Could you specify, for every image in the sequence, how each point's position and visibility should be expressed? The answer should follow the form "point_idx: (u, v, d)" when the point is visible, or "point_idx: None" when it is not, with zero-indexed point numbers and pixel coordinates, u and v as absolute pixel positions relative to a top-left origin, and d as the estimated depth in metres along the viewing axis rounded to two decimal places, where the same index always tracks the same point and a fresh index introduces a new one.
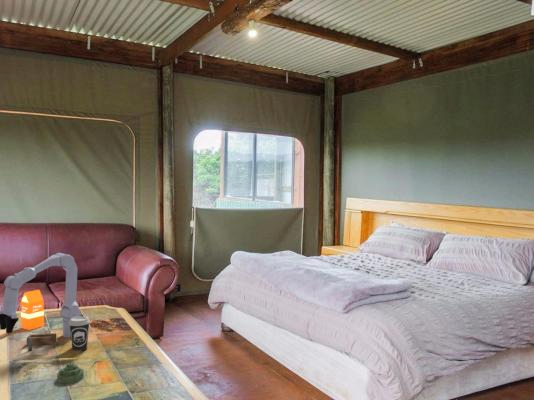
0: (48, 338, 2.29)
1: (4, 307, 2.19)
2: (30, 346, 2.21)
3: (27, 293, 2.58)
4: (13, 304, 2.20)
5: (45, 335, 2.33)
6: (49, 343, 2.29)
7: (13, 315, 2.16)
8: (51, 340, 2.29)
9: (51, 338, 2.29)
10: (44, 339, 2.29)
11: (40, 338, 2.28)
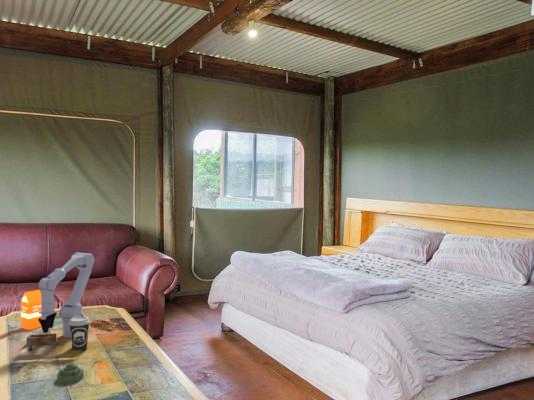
0: (48, 338, 2.29)
1: (41, 308, 2.29)
2: (30, 346, 2.21)
3: (27, 293, 2.58)
4: (47, 305, 2.28)
5: (45, 335, 2.33)
6: (49, 343, 2.29)
7: (42, 316, 2.24)
8: (51, 340, 2.29)
9: (51, 338, 2.29)
10: (44, 339, 2.29)
11: (40, 338, 2.28)
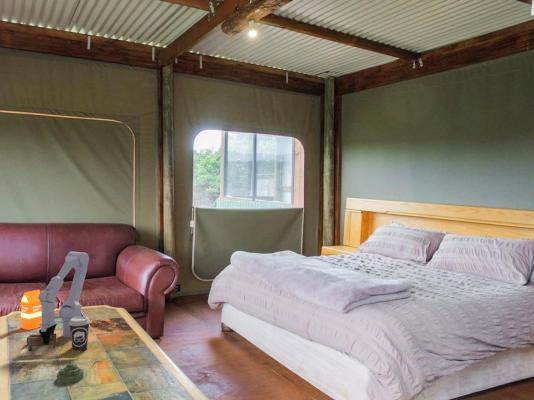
0: None
1: (41, 319, 2.30)
2: (30, 346, 2.21)
3: (27, 293, 2.58)
4: (47, 317, 2.28)
5: None
6: (49, 343, 2.29)
7: (42, 328, 2.24)
8: (51, 340, 2.29)
9: (51, 338, 2.29)
10: None
11: (40, 338, 2.28)
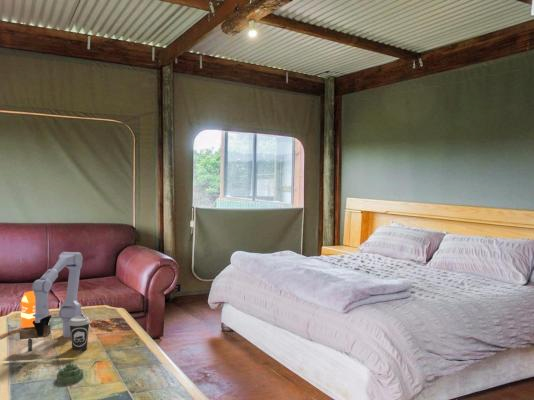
0: None
1: (35, 310, 2.21)
2: (30, 346, 2.21)
3: (27, 293, 2.58)
4: (41, 308, 2.19)
5: None
6: (43, 335, 2.20)
7: (35, 319, 2.15)
8: (45, 332, 2.20)
9: (45, 330, 2.20)
10: None
11: (33, 330, 2.19)
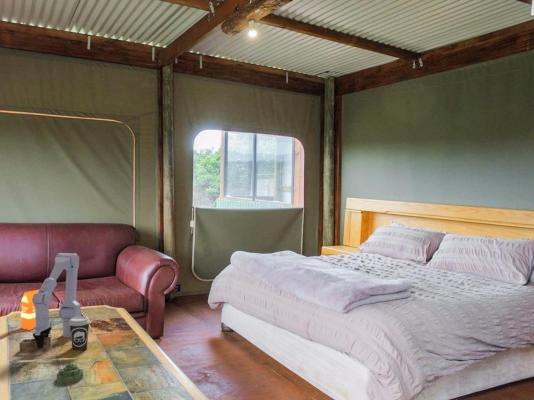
0: None
1: (35, 323, 2.21)
2: None
3: (27, 293, 2.58)
4: (41, 320, 2.20)
5: None
6: (43, 347, 2.20)
7: (36, 332, 2.15)
8: (45, 344, 2.20)
9: (45, 342, 2.20)
10: None
11: (33, 342, 2.19)
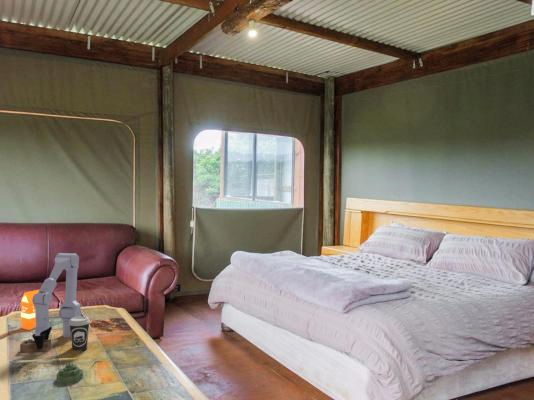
0: None
1: (35, 323, 2.21)
2: None
3: (27, 293, 2.58)
4: (41, 320, 2.20)
5: None
6: (43, 350, 2.20)
7: (36, 332, 2.15)
8: (46, 346, 2.20)
9: (46, 344, 2.20)
10: None
11: (34, 344, 2.20)
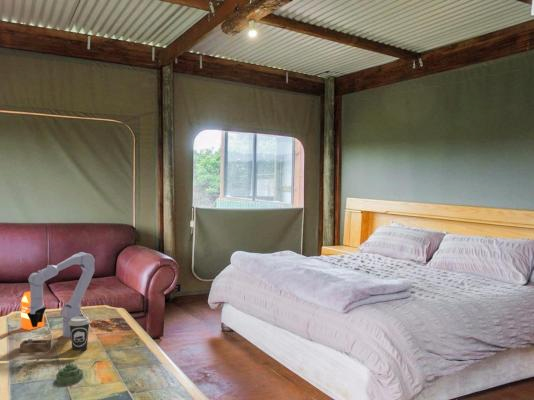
0: (42, 344, 2.20)
1: (30, 302, 2.31)
2: None
3: (27, 293, 2.58)
4: (36, 300, 2.30)
5: (39, 341, 2.24)
6: (43, 350, 2.20)
7: (31, 311, 2.25)
8: (46, 346, 2.20)
9: (46, 344, 2.20)
10: (38, 345, 2.20)
11: (34, 344, 2.20)
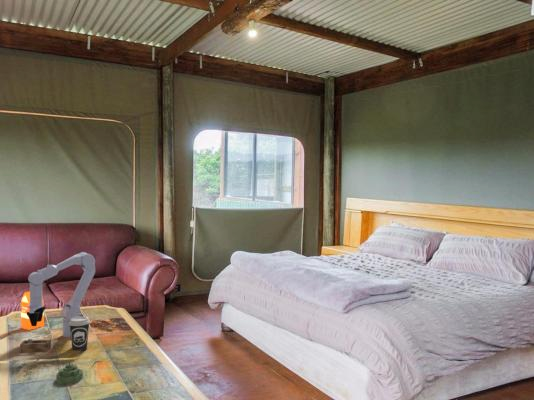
0: (42, 344, 2.20)
1: None
2: None
3: (27, 293, 2.58)
4: (35, 299, 2.31)
5: (39, 341, 2.24)
6: (43, 350, 2.20)
7: (30, 310, 2.27)
8: (46, 346, 2.20)
9: (46, 344, 2.20)
10: (38, 345, 2.20)
11: (34, 344, 2.20)
